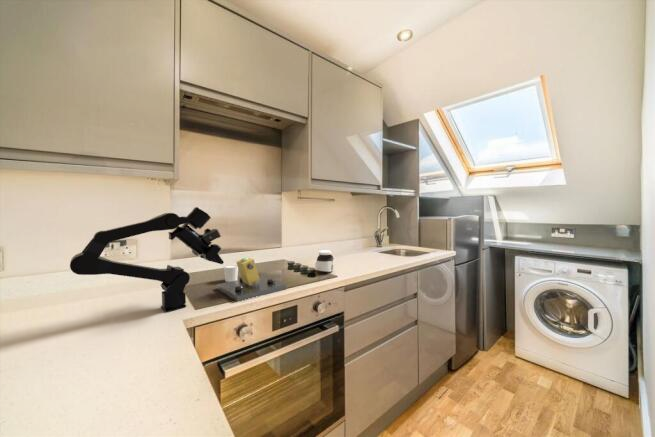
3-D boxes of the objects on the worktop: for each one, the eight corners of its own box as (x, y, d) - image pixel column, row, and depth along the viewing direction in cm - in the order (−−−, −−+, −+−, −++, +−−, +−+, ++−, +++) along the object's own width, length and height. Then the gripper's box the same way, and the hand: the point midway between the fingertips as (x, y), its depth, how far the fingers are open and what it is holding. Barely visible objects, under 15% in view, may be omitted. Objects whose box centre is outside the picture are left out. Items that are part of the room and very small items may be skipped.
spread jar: (326, 275, 134) (326, 253, 133) (309, 272, 139) (308, 251, 139) (337, 270, 144) (337, 250, 144) (320, 268, 150) (320, 248, 149)
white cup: (233, 282, 122) (233, 268, 121) (220, 282, 123) (220, 267, 123) (241, 278, 128) (240, 265, 128) (229, 278, 130) (228, 264, 130)
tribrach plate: (237, 301, 96) (237, 289, 96) (217, 288, 112) (216, 278, 112) (286, 289, 111) (286, 278, 111) (262, 279, 127) (261, 270, 127)
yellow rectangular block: (251, 287, 107) (243, 262, 104) (242, 283, 114) (234, 259, 111) (261, 282, 110) (254, 257, 107) (252, 277, 117) (245, 255, 114)
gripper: (214, 223, 92) (244, 249, 100) (199, 221, 105) (226, 245, 113) (191, 247, 87) (225, 273, 95) (178, 242, 100) (208, 265, 108)
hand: (221, 262), depth 103 cm, fingers closed
